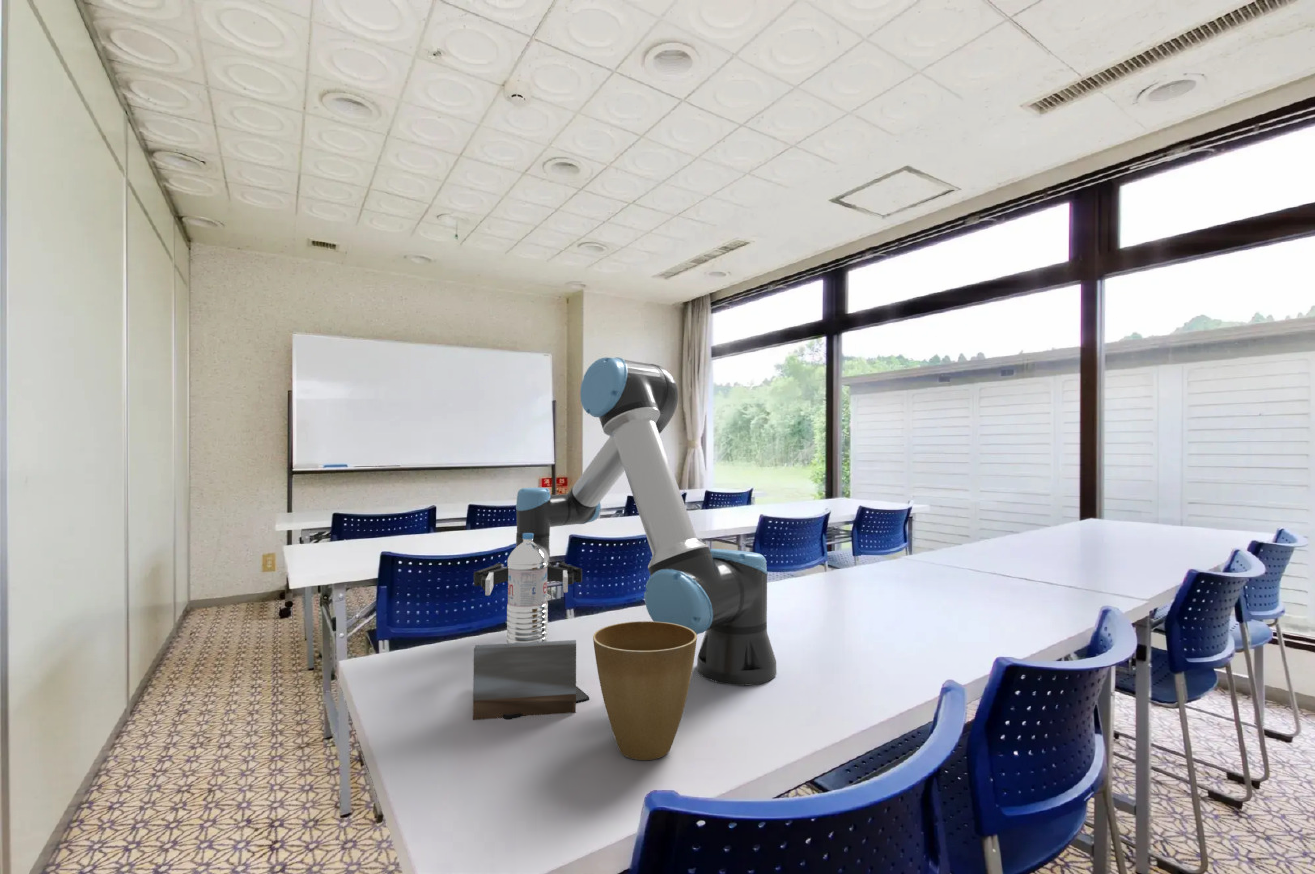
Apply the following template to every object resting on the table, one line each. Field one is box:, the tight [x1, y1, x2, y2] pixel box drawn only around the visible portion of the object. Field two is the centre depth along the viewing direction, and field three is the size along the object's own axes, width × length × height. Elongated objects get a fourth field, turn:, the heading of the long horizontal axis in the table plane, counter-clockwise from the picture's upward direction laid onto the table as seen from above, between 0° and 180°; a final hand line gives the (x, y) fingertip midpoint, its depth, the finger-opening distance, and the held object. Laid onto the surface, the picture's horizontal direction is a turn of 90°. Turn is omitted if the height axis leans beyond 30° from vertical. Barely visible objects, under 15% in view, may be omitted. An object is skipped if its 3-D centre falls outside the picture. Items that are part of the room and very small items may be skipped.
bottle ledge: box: [472, 639, 577, 721], centre depth 100 cm, size 14×16×11 cm
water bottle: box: [506, 533, 549, 644], centre depth 100 cm, size 7×7×25 cm
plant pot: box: [592, 620, 698, 761], centre depth 84 cm, size 15×15×16 cm
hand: (527, 586), depth 104 cm, fingers open, 13 cm apart
